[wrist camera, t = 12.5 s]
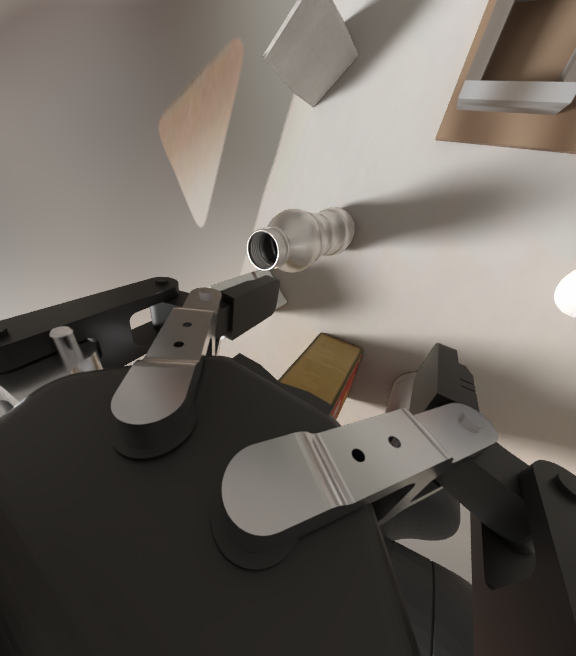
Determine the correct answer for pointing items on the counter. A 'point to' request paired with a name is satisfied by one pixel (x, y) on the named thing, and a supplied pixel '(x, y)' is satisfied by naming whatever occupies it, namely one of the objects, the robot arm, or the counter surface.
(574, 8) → the socket board
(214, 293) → the robot arm
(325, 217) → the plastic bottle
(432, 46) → the counter surface
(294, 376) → the food packaging
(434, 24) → the counter surface
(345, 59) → the small milk carton
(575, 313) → the champagne flute
